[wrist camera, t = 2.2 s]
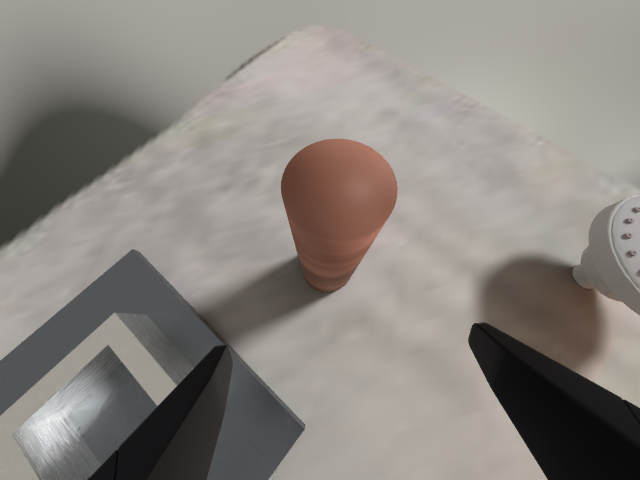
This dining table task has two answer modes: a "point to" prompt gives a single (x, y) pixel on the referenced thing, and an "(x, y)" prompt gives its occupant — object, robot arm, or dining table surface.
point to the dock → (125, 383)
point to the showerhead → (614, 254)
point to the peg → (336, 207)
